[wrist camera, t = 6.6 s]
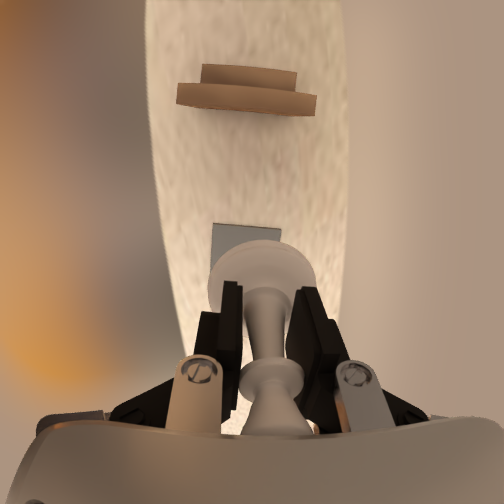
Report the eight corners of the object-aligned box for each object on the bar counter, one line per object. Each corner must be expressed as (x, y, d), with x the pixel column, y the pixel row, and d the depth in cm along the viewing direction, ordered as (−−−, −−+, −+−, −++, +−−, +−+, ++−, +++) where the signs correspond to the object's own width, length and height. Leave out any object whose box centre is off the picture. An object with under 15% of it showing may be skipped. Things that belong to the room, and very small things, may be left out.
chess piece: (330, 307, 15) (397, 501, 6) (239, 344, 16) (238, 537, 7) (290, 220, 13) (370, 440, 4) (187, 268, 14) (126, 487, 5)
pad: (213, 223, 37) (212, 224, 37) (280, 228, 37) (281, 230, 37) (210, 282, 40) (209, 284, 40) (272, 287, 41) (272, 288, 40)
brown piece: (203, 65, 29) (183, 40, 18) (295, 73, 30) (321, 53, 19) (199, 108, 31) (176, 103, 20) (290, 116, 32) (314, 116, 21)
